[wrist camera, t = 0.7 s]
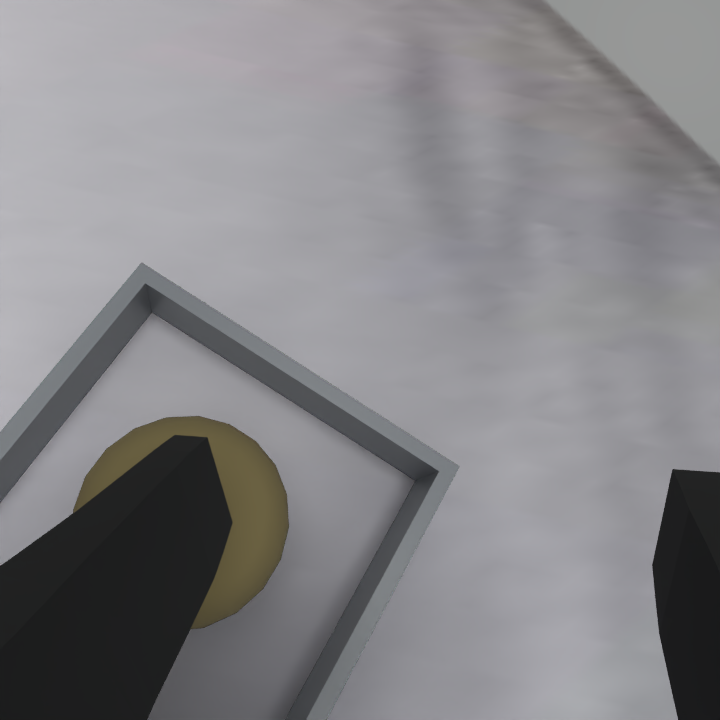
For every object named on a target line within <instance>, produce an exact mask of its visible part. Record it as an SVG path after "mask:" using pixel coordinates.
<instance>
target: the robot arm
mask: <svg viewBox="0 0 720 720" xmlns="http://www.w3.org/2000/svg"><path fill="white" fill-rule="evenodd" d="M232 524H233V522H232V518H231V515H230V511H229V508H228V505H227V501H226V498H225V495H224V491H223V488H222V484H221V481H220V478H219V474H218V471H217V468H216V464H215V461H214V457H213V454H212V451H211V447H210V444H209V441H208V437H199V436H184V435H174V436H172V437H171V438H170V439H168V440H167V441H165V442H164V443H163V444H161V445H160V446H159V447H157V448H156V449H155V450H153V451H152V452H151V453H150V454H148V455H147V456H146V457H144V458H143V459H142V460H141V461H139V462H138V463H137V464H136V465H134V466H133V467H132V468H130V469H129V470H128V471H127V472H125V473H124V474H123V475H122V476H120V477H119V478H118V479H117V480H115V481H114V482H113V483H112V484H110V485H109V486H108V487H106V488H105V489H104V490H103V491H101V492H100V493H99V494H97V495H96V496H95V497H94V498H92V499H91V500H90V501H88V502H87V503H86V504H84V505H83V506H82V507H81V508H79V509H78V510H77V511H75V512H74V513H73V514H72V515H70V516H69V517H68V518H66V519H65V520H64V521H62V522H61V523H60V524H58V525H57V526H55V527H54V528H53V529H51V530H50V531H48V532H47V533H46V534H44V535H43V536H42V537H40V538H39V539H37V540H36V541H35V542H33V543H32V544H30V545H29V546H28V547H26V548H25V549H23V550H22V551H21V552H19V553H18V554H17V555H15V556H14V557H12V558H11V559H10V560H8V561H7V562H5V563H4V564H2V565H1V566H0V720H147V718H148V716H149V714H150V712H151V709H152V707H153V705H154V703H155V701H156V698H157V696H158V694H159V692H160V690H161V688H162V686H163V684H164V682H165V680H166V678H167V676H168V674H169V672H170V670H171V668H172V666H173V664H174V662H175V659H176V657H177V655H178V653H179V651H180V649H181V647H182V645H183V643H184V641H185V639H186V637H187V635H188V633H189V631H190V629H191V627H192V625H193V623H194V620H195V618H196V616H197V614H198V612H199V610H200V608H201V606H202V604H203V602H204V599H205V597H206V595H207V593H208V591H209V589H210V587H211V585H212V582H213V580H214V578H215V575H216V572H217V569H218V567H219V564H220V561H221V558H222V555H223V552H224V549H225V546H226V543H227V540H228V536H229V533H230V530H231V527H232ZM652 566H653V577H654V588H655V598H656V608H657V617H658V626H659V634H660V639H661V643H662V648H663V653H664V657H665V662H666V667H667V671H668V676H669V680H670V685H671V689H672V694H673V698H674V703H675V707H676V712H677V716H678V720H720V473H719V472H704V471H690V470H675V469H673V470H672V474H671V479H670V484H669V489H668V493H667V498H666V503H665V508H664V512H663V517H662V522H661V527H660V531H659V536H658V541H657V545H656V550H655V555H654V560H653V564H652Z"/></svg>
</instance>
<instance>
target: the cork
mask: <svg viewBox="0 0 720 720" xmlns="http://www.w3.org/2000/svg"><path fill="white" fill-rule="evenodd" d="M174 435H184V436H199V437H208V441H209V444H210V447H211V451H212V454H213V457H214V461H215V464H216V468H217V471H218V474H219V478H220V481H221V484H222V488H223V491H224V495H225V498H226V501H227V505H228V508H229V511H230V515H231V518H232V522H233V524H232V527H231V530H230V533H229V536H228V540H227V543H226V546H225V549H224V552H223V555H222V558H221V561H220V564H219V567H218V569H217V572H216V575H215V578H214V580H213V582H212V585H211V587H210V589H209V591H208V593H207V595H206V597H205V599H204V602H203V604H202V606H201V608H200V610H199V612H198V614H197V616H196V618H195V620H194V623H193V625H192V627H191V629H197V628H204V627H206V626H209V625H211V624H213V623H215V622H217V621H220V620H222V619H224V618H226V617H228V616H231V615H233V614H235V613H237V612H238V611H239V610H240V609H241V608H242V607H243V606H245V605H246V604H247V603H248V602H249V601H250V600H251V599H252V598H253V597H255V596H256V595H257V594H258V593H259V592H260V591H261V590H262V589H263V588H264V586H265V585H266V583H267V581H268V580H269V578H270V576H271V575H272V573H273V571H274V570H275V568H276V566H277V565H278V563H279V561H280V560H281V556H282V552H283V548H284V544H285V540H286V536H287V532H288V528H289V522H288V505H287V494H286V491H285V488H284V486H283V483H282V481H281V478H280V476H279V473H278V470H277V468H276V465H275V464H274V463H273V462H272V460H271V459H270V458H269V457H268V455H267V454H266V453H265V452H264V451H263V449H262V448H261V447H260V446H259V444H258V443H257V442H256V441H255V440H253V439H252V438H250V437H249V436H247V435H245V434H244V433H242V432H241V431H239V430H238V429H236V428H234V427H233V426H231V425H230V424H226V423H223V422H219V421H215V420H211V419H208V418H204V417H200V416H191V417H168V418H163V419H161V420H158V421H155V422H152V423H149V424H146V425H143V426H141V427H138V428H135V429H133V430H132V431H131V432H129V433H128V434H126V435H125V436H124V437H122V438H121V439H119V440H118V441H117V442H115V443H114V444H113V445H111V446H110V447H108V448H107V449H106V450H105V452H104V453H103V454H102V455H101V457H100V458H99V459H98V461H97V462H96V463H95V465H94V466H93V467H92V469H91V470H90V471H89V473H88V474H87V475H86V477H85V479H84V482H83V485H82V487H81V490H80V493H79V496H78V498H77V501H76V504H75V507H74V509H73V513H74V512H75V511H77V510H78V509H79V508H81V507H82V506H83V505H84V504H86V503H87V502H88V501H90V500H91V499H92V498H94V497H95V496H96V495H97V494H99V493H100V492H101V491H103V490H104V489H105V488H106V487H108V486H109V485H110V484H112V483H113V482H114V481H115V480H117V479H118V478H119V477H120V476H122V475H123V474H124V473H125V472H127V471H128V470H129V469H130V468H132V467H133V466H134V465H136V464H137V463H138V462H139V461H141V460H142V459H143V458H144V457H146V456H147V455H148V454H150V453H151V452H152V451H153V450H155V449H156V448H157V447H159V446H160V445H161V444H163V443H164V442H165V441H167V440H168V439H170V438H171V437H172V436H174Z"/></svg>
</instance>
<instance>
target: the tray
mask: <svg viewBox="0 0 720 720" xmlns="http://www.w3.org/2000/svg"><path fill="white" fill-rule="evenodd" d="M151 312H153V313H154V314H156V315H158V316H159V317H161V318H162V319H164V320H165V321H167V322H169V323H170V324H172V325H173V326H175V327H176V328H178V329H179V330H181V331H183V332H184V333H186V334H187V335H189V336H190V337H192V338H194V339H195V340H197V341H198V342H200V343H201V344H203V345H204V346H206V347H208V348H209V349H211V350H212V351H214V352H215V353H217V354H219V355H220V356H222V357H223V358H225V359H226V360H228V361H230V362H231V363H233V364H234V365H236V366H237V367H239V368H240V369H242V370H244V371H245V372H247V373H248V374H250V375H251V376H253V377H255V378H256V379H258V380H259V381H261V382H262V383H264V384H265V385H267V386H269V387H270V388H272V389H273V390H275V391H276V392H278V393H280V394H281V395H283V396H284V397H286V398H287V399H289V400H291V401H292V402H294V403H295V404H297V405H298V406H300V407H301V408H303V409H305V410H306V411H308V412H309V413H311V414H312V415H314V416H316V417H317V418H319V419H320V420H322V421H323V422H325V423H326V424H328V425H330V426H331V427H333V428H334V429H336V430H337V431H339V432H341V433H342V434H344V435H345V436H347V437H348V438H350V439H351V440H353V441H355V442H356V443H358V444H359V445H361V446H362V447H364V448H366V449H367V450H369V451H370V452H372V453H373V454H375V455H377V456H378V457H380V458H381V459H383V460H384V461H386V462H387V463H389V464H391V465H392V466H394V467H395V468H397V469H398V470H400V471H402V472H403V473H405V474H406V475H408V476H409V477H411V478H412V479H414V480H416V482H415V484H414V485H413V487H412V489H411V491H410V493H409V494H408V496H407V498H406V500H405V502H404V504H403V505H402V507H401V509H400V511H399V513H398V515H397V516H396V518H395V520H394V522H393V524H392V526H391V527H390V529H389V531H388V533H387V535H386V536H385V538H384V540H383V542H382V544H381V546H380V547H379V549H378V551H377V553H376V555H375V557H374V558H373V560H372V562H371V564H370V566H369V568H368V569H367V571H366V573H365V575H364V577H363V578H362V580H361V582H360V584H359V586H358V588H357V589H356V591H355V593H354V595H353V597H352V599H351V600H350V602H349V604H348V606H347V608H346V610H345V611H344V613H343V615H342V617H341V619H340V620H339V622H338V624H337V626H336V628H335V630H334V631H333V633H332V635H331V637H330V639H329V641H328V642H327V644H326V646H325V648H324V650H323V652H322V653H321V655H320V657H319V659H318V661H317V662H316V664H315V666H314V668H313V670H312V672H311V673H310V675H309V677H308V679H307V681H306V683H305V684H304V686H303V688H302V690H301V692H300V694H299V695H298V697H297V699H296V701H295V703H294V704H293V706H292V708H291V710H290V712H289V714H288V715H287V717H286V719H285V720H327V718H328V716H329V714H330V712H331V710H332V709H333V707H334V705H335V703H336V701H337V699H338V697H339V695H340V693H341V691H342V690H343V688H344V686H345V684H346V682H347V680H348V678H349V676H350V674H351V672H352V670H353V669H354V667H355V665H356V663H357V661H358V659H359V657H360V655H361V653H362V651H363V650H364V648H365V646H366V644H367V642H368V640H369V638H370V636H371V634H372V632H373V630H374V629H375V627H376V625H377V623H378V621H379V619H380V617H381V615H382V613H383V611H384V610H385V608H386V606H387V604H388V602H389V600H390V598H391V596H392V594H393V592H394V590H395V589H396V587H397V585H398V583H399V581H400V579H401V577H402V575H403V573H404V571H405V570H406V568H407V566H408V564H409V562H410V560H411V558H412V556H413V554H414V552H415V550H416V549H417V547H418V545H419V543H420V541H421V539H422V537H423V535H424V533H425V531H426V530H427V528H428V526H429V524H430V522H431V520H432V518H433V516H434V514H435V512H436V510H437V509H438V507H439V505H440V503H441V501H442V499H443V497H444V495H445V493H446V491H447V490H448V488H449V486H450V484H451V482H452V480H453V478H454V476H455V474H456V472H457V470H458V469H459V467H460V466H458V465H457V464H455V463H454V462H452V461H451V460H449V459H447V458H446V457H444V456H443V455H441V454H440V453H438V452H437V451H435V450H433V449H432V448H430V447H429V446H427V445H426V444H424V443H423V442H421V441H419V440H418V439H416V438H415V437H413V436H412V435H410V434H408V433H407V432H405V431H404V430H402V429H401V428H399V427H398V426H396V425H394V424H393V423H391V422H390V421H388V420H387V419H385V418H384V417H382V416H380V415H379V414H377V413H376V412H374V411H373V410H371V409H369V408H368V407H366V406H365V405H363V404H362V403H360V402H359V401H357V400H355V399H354V398H352V397H351V396H349V395H348V394H346V393H345V392H343V391H341V390H340V389H338V388H337V387H335V386H334V385H332V384H331V383H329V382H327V381H326V380H324V379H323V378H321V377H320V376H318V375H316V374H315V373H313V372H312V371H310V370H309V369H307V368H306V367H304V366H302V365H301V364H299V363H298V362H296V361H295V360H293V359H292V358H290V357H288V356H287V355H285V354H284V353H282V352H281V351H279V350H277V349H276V348H274V347H273V346H271V345H270V344H268V343H267V342H265V341H263V340H262V339H260V338H259V337H257V336H256V335H254V334H253V333H251V332H249V331H248V330H246V329H245V328H243V327H242V326H240V325H238V324H237V323H235V322H234V321H232V320H231V319H229V318H228V317H226V316H224V315H223V314H221V313H220V312H218V311H217V310H215V309H214V308H212V307H210V306H209V305H207V304H206V303H204V302H203V301H201V300H200V299H198V298H196V297H195V296H193V295H192V294H190V293H189V292H187V291H185V290H184V289H182V288H181V287H179V286H178V285H176V284H175V283H173V282H171V281H170V280H168V279H167V278H165V277H164V276H162V275H161V274H159V273H157V272H156V271H154V270H153V269H151V268H150V267H148V266H146V265H145V264H143V263H141V264H140V265H139V266H138V267H137V269H136V270H135V271H134V272H133V273H132V275H131V276H130V277H129V278H128V279H127V281H126V282H125V283H124V284H123V285H122V287H121V288H120V289H119V290H118V291H117V293H116V294H115V295H114V296H113V297H112V299H111V300H110V301H109V302H108V303H107V305H106V306H105V307H104V308H103V309H102V311H101V312H100V313H99V314H98V315H97V317H96V318H95V319H94V320H93V321H92V323H91V324H90V325H89V326H88V327H87V329H86V330H85V331H84V332H83V333H82V335H81V336H80V337H79V338H78V339H77V341H76V342H75V343H74V344H73V345H72V347H71V348H70V349H69V350H68V351H67V353H66V354H65V355H64V356H63V357H62V359H61V360H60V361H59V362H58V363H57V365H56V366H55V367H54V368H53V369H52V371H51V372H50V373H49V374H48V375H47V377H46V378H45V379H44V380H43V381H42V383H41V384H40V385H39V386H38V387H37V389H36V390H35V391H34V392H33V393H32V395H31V396H30V397H29V398H28V399H27V401H26V402H25V403H24V404H23V405H22V407H21V408H20V409H19V410H18V411H17V413H16V414H15V415H14V416H13V417H12V419H11V420H10V421H9V422H8V423H7V425H6V426H5V427H4V428H3V429H2V431H1V432H0V502H1V501H2V499H3V498H4V497H5V496H6V494H7V493H8V492H9V491H10V489H11V488H12V487H13V486H14V484H15V483H16V482H17V481H18V479H19V478H20V477H21V475H22V474H23V473H24V472H25V470H26V469H27V468H28V467H29V465H30V464H31V463H32V462H33V460H34V459H35V458H36V457H37V455H38V454H39V453H40V452H41V450H42V449H43V448H44V447H45V445H46V444H47V443H48V442H49V440H50V439H51V438H52V437H53V435H54V434H55V433H56V432H57V430H58V429H59V428H60V427H61V425H62V424H63V423H64V422H65V420H66V419H67V418H68V417H69V415H70V414H71V413H72V412H73V410H74V409H75V408H76V406H77V405H78V404H79V403H80V401H81V400H82V399H83V398H84V396H85V395H86V394H87V393H88V391H89V390H90V389H91V388H92V386H93V385H94V384H95V383H96V381H97V380H98V379H99V378H100V376H101V375H102V374H103V373H104V371H105V370H106V369H107V368H108V366H109V365H110V364H111V363H112V361H113V360H114V359H115V358H116V356H117V355H118V354H119V353H120V351H121V350H122V349H123V348H124V346H125V345H126V344H127V343H128V341H129V340H130V339H131V337H132V336H133V335H134V334H135V332H136V331H137V330H138V329H139V327H140V326H141V325H142V324H143V322H144V321H145V320H146V319H147V317H148V316H149V315H150V314H151Z"/></svg>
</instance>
